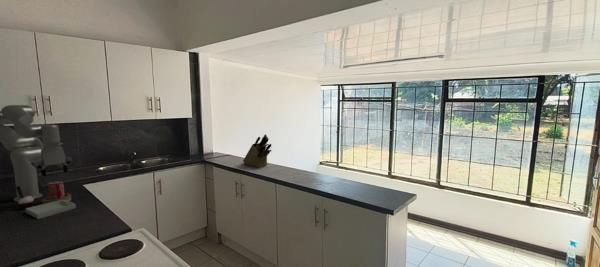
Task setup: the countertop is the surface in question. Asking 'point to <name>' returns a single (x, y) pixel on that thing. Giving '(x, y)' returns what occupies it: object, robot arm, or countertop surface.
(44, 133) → the robot arm
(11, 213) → the countertop surface
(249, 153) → the knife block
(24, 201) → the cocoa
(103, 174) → the countertop surface
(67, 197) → the can holder
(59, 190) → the soda can
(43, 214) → the tray
